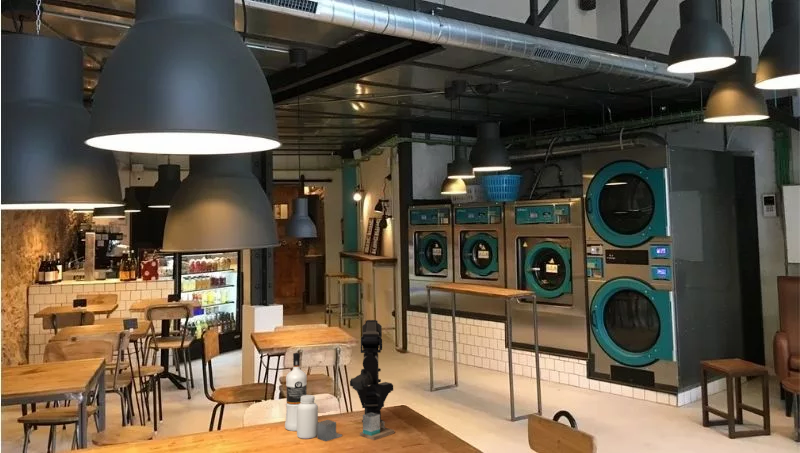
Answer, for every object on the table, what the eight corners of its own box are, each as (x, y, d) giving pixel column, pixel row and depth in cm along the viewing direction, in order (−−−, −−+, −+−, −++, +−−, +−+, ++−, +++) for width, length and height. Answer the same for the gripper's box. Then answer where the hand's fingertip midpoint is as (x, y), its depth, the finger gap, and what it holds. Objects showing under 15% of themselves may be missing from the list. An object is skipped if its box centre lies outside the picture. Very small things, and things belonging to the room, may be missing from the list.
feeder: (317, 438, 214) (317, 422, 214) (333, 433, 220) (333, 417, 220) (325, 441, 210) (325, 425, 211) (342, 436, 216) (342, 420, 217)
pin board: (359, 435, 217) (359, 424, 217) (380, 428, 225) (379, 418, 225) (374, 440, 211) (374, 428, 212) (394, 433, 219) (394, 422, 220)
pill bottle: (321, 434, 219) (321, 395, 220) (310, 440, 212) (310, 400, 213) (304, 431, 223) (304, 393, 223) (292, 437, 215) (292, 397, 216)
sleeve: (362, 433, 216) (362, 414, 216) (371, 430, 219) (371, 412, 220) (371, 435, 213) (371, 417, 213) (379, 432, 216) (379, 414, 216)
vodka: (307, 423, 233) (307, 350, 234) (309, 430, 224) (308, 354, 225) (284, 425, 230) (284, 351, 232) (285, 432, 221) (285, 355, 223)
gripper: (339, 366, 218) (339, 407, 217) (372, 372, 205) (373, 416, 204) (360, 362, 226) (360, 401, 225) (394, 368, 213) (394, 410, 212)
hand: (371, 407), depth 216 cm, fingers open, 9 cm apart
